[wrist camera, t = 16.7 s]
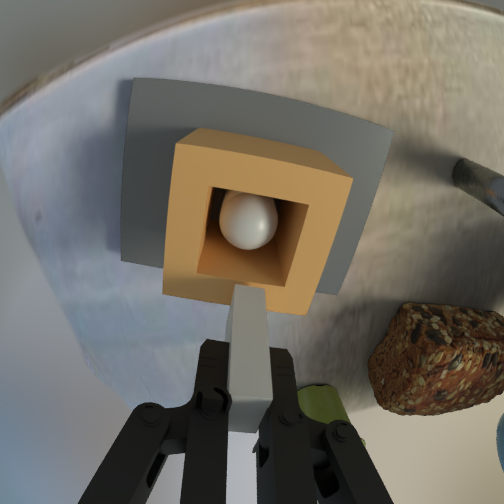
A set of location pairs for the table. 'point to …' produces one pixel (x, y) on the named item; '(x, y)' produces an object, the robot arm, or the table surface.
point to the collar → (261, 183)
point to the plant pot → (322, 404)
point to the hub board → (246, 118)
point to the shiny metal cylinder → (480, 183)
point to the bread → (438, 360)
